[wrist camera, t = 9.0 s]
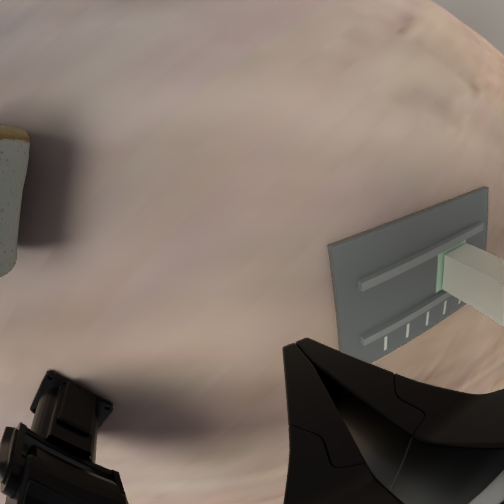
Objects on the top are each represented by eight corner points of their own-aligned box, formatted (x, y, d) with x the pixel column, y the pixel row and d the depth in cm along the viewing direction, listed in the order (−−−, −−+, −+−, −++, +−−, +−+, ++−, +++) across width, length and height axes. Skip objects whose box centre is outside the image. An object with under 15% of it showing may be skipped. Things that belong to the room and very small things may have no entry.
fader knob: (442, 289, 27) (513, 333, 18) (444, 254, 26) (524, 295, 17) (463, 275, 28) (531, 313, 19) (466, 242, 26) (540, 277, 17)
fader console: (341, 373, 28) (346, 380, 27) (327, 245, 22) (335, 250, 21) (476, 291, 32) (482, 294, 31) (484, 186, 26) (492, 188, 25)
